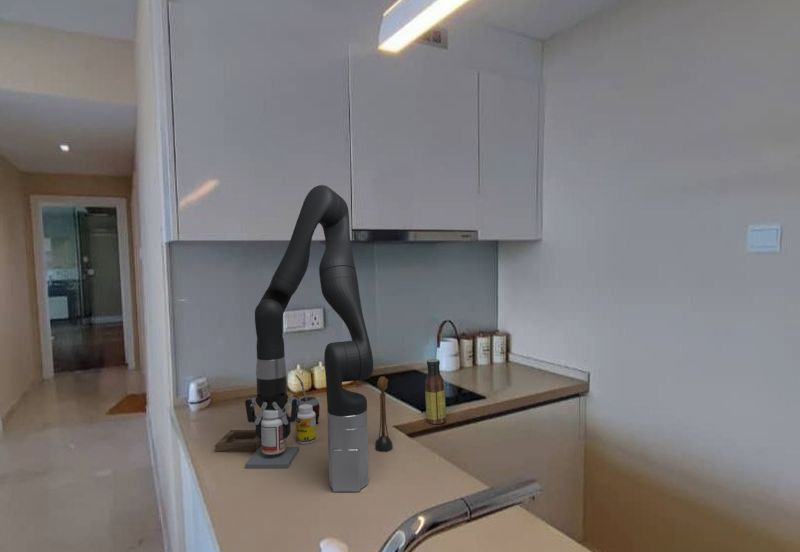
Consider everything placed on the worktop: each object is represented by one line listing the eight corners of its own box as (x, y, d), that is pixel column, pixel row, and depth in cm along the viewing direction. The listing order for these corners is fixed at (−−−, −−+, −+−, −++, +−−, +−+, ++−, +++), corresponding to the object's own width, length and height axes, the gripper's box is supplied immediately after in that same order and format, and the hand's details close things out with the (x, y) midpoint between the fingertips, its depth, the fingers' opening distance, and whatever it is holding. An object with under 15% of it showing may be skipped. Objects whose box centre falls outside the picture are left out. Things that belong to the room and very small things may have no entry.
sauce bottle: (444, 418, 152) (443, 357, 151) (447, 425, 146) (446, 361, 145) (424, 418, 152) (423, 358, 151) (426, 425, 145) (425, 362, 144)
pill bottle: (281, 443, 128) (280, 403, 127) (289, 451, 122) (287, 409, 122) (258, 449, 124) (257, 407, 124) (265, 457, 119) (264, 414, 118)
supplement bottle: (292, 442, 134) (291, 407, 133) (305, 436, 139) (304, 402, 138) (307, 446, 131) (306, 410, 131) (320, 439, 136) (319, 404, 136)
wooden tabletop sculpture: (380, 442, 133) (379, 373, 132) (395, 444, 131) (394, 374, 130) (372, 450, 127) (371, 378, 126) (388, 452, 126) (387, 379, 125)
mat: (288, 468, 117) (288, 464, 117) (245, 468, 118) (244, 464, 118) (299, 450, 128) (299, 446, 128) (259, 450, 129) (259, 446, 129)
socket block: (254, 451, 128) (254, 444, 128) (215, 452, 128) (215, 444, 128) (267, 436, 139) (267, 429, 139) (231, 436, 139) (230, 430, 139)
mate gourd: (318, 427, 145) (317, 379, 145) (292, 428, 145) (291, 380, 144) (321, 419, 153) (320, 374, 152) (296, 420, 152) (295, 374, 152)
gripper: (302, 370, 126) (303, 431, 127) (249, 371, 126) (251, 432, 127) (294, 378, 118) (296, 443, 119) (238, 378, 119) (241, 443, 120)
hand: (273, 437), depth 123 cm, fingers closed on pill bottle, 6 cm apart
